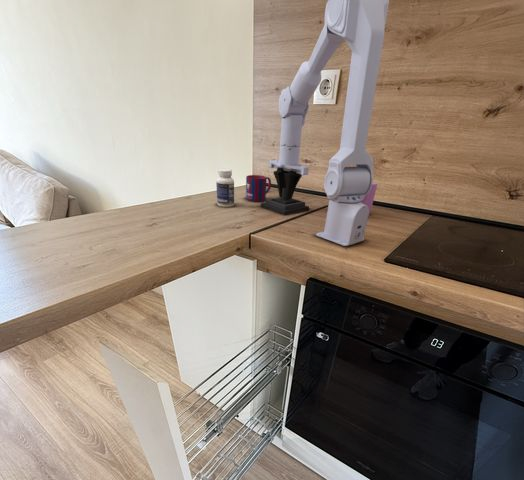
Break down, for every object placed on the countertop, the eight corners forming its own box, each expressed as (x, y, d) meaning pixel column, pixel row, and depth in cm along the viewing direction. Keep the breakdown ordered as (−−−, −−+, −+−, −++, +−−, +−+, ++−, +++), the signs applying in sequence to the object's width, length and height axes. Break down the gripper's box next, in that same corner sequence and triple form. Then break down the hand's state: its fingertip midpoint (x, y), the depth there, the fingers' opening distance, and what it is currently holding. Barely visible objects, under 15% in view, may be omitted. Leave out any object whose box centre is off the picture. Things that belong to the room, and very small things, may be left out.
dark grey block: (296, 204, 96) (297, 188, 93) (284, 206, 93) (286, 190, 90) (285, 200, 99) (286, 185, 96) (273, 202, 96) (274, 187, 93)
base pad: (309, 209, 97) (310, 202, 95) (284, 214, 91) (284, 207, 89) (285, 202, 103) (285, 195, 101) (260, 206, 97) (260, 199, 96)
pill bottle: (231, 208, 94) (231, 172, 88) (215, 206, 95) (213, 170, 89) (236, 203, 98) (236, 169, 92) (220, 202, 99) (219, 167, 93)
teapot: (336, 221, 88) (344, 181, 82) (309, 208, 98) (314, 172, 91) (382, 215, 95) (392, 179, 89) (352, 204, 105) (360, 170, 98)
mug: (242, 198, 104) (242, 175, 100) (265, 195, 109) (266, 173, 105) (253, 202, 100) (254, 179, 96) (276, 199, 105) (278, 177, 101)
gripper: (262, 143, 88) (260, 194, 97) (298, 149, 80) (293, 204, 89) (280, 142, 92) (276, 191, 101) (316, 148, 84) (309, 201, 92)
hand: (285, 197), depth 95 cm, fingers closed on dark grey block, 2 cm apart
